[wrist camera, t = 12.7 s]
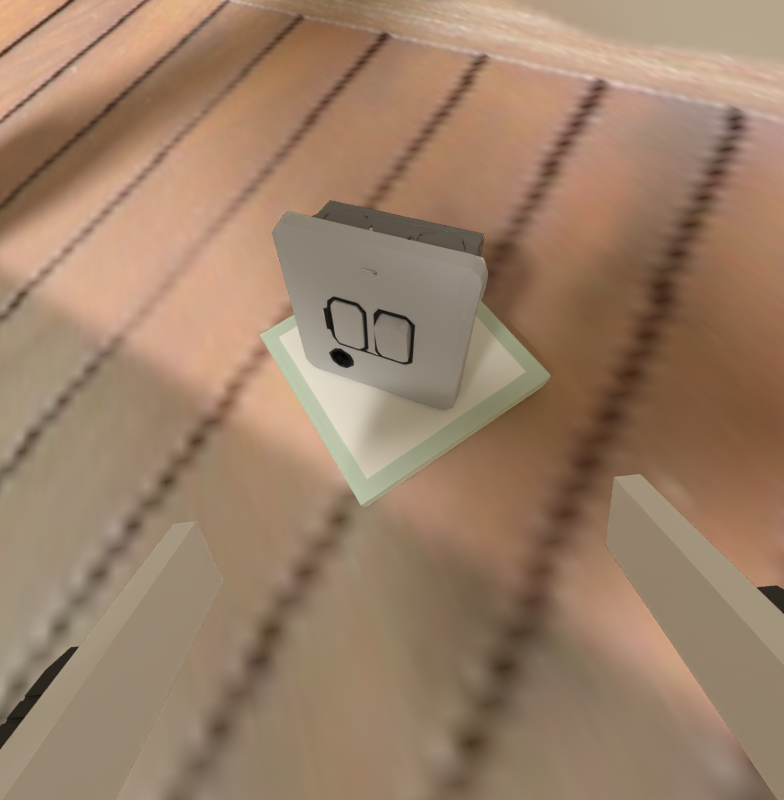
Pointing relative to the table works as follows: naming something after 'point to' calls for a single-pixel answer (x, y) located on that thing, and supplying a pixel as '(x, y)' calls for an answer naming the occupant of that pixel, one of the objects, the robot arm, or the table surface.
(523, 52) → the table surface
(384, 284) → the electrical switch
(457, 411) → the board
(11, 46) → the table surface
